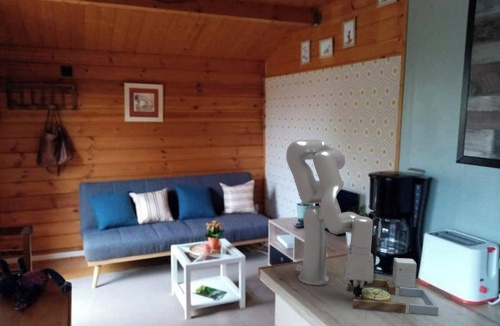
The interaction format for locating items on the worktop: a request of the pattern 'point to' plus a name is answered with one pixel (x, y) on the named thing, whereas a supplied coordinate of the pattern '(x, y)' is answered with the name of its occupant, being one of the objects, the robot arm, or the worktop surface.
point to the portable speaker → (374, 248)
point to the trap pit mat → (374, 287)
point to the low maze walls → (378, 304)
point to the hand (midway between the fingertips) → (357, 296)
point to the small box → (404, 272)
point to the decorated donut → (375, 295)
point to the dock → (417, 308)
